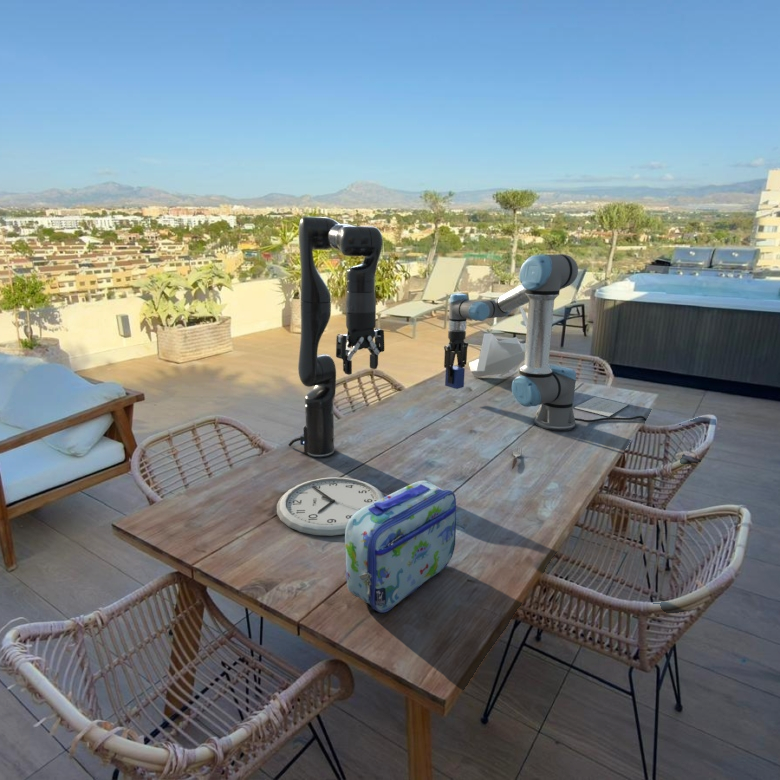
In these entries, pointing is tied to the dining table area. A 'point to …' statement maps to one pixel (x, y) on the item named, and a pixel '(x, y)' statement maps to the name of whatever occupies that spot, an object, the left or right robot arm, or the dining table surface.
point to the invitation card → (601, 406)
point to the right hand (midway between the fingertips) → (454, 381)
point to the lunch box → (399, 543)
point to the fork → (516, 456)
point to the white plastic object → (499, 354)
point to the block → (456, 378)
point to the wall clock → (325, 504)
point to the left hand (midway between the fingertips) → (360, 371)
